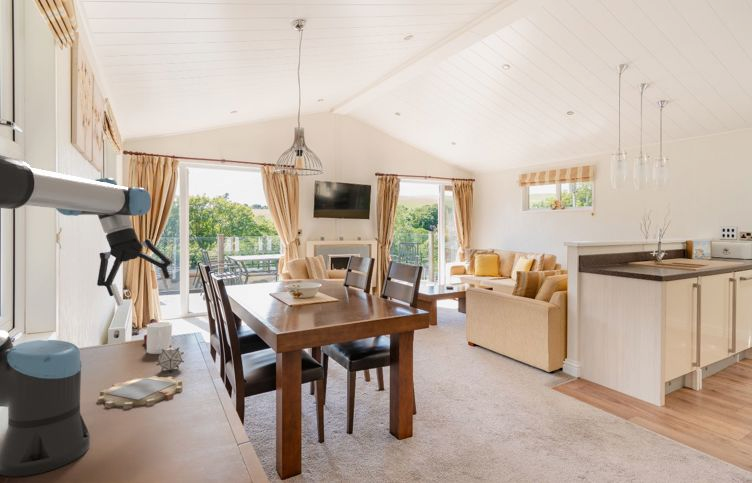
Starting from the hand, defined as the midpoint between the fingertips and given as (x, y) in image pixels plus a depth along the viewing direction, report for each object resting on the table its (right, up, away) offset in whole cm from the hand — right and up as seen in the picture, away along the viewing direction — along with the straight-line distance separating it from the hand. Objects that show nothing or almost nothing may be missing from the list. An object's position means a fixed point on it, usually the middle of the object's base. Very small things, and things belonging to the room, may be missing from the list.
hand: (144, 297), depth 122 cm
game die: (0, -27, +15) cm, 31 cm away
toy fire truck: (-22, -26, +46) cm, 58 cm away
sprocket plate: (+2, -27, -4) cm, 28 cm away
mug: (-15, -27, +35) cm, 46 cm away
